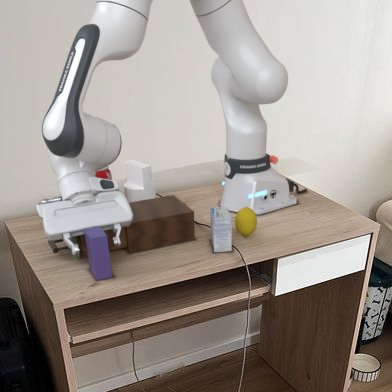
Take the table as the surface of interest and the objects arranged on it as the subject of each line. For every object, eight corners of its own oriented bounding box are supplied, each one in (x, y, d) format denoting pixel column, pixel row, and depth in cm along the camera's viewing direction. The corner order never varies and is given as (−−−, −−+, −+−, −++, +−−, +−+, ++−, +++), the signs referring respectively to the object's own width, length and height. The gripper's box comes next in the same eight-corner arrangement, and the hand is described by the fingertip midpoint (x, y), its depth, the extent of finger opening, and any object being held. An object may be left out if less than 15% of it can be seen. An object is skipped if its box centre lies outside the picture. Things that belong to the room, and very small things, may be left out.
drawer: (57, 263, 127) (52, 240, 123) (46, 243, 136) (42, 221, 133) (140, 246, 133) (138, 224, 130) (125, 229, 143) (123, 207, 139)
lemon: (255, 241, 136) (256, 211, 131) (233, 240, 137) (233, 210, 132) (257, 233, 141) (258, 203, 136) (235, 232, 141) (236, 202, 137)
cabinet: (129, 253, 132) (126, 223, 128) (113, 233, 143) (109, 205, 138) (195, 240, 138) (194, 211, 134) (174, 222, 148) (173, 194, 144)
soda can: (111, 213, 154) (105, 171, 148) (87, 212, 156) (81, 170, 149) (118, 205, 160) (114, 163, 153) (96, 204, 161) (90, 163, 155)
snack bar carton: (104, 266, 127) (99, 225, 121) (112, 277, 122) (107, 235, 116) (89, 269, 125) (83, 228, 120) (96, 280, 121) (90, 238, 115)
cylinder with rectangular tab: (162, 204, 159) (160, 163, 153) (137, 212, 155) (133, 170, 148) (144, 197, 165) (141, 157, 158) (120, 204, 160) (115, 163, 154)
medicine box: (231, 252, 132) (232, 217, 127) (213, 253, 131) (213, 218, 126) (227, 238, 138) (228, 205, 133) (210, 239, 138) (210, 206, 133)
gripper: (33, 194, 117) (51, 253, 115) (124, 179, 124) (141, 235, 122) (34, 207, 123) (50, 263, 121) (120, 193, 130) (137, 246, 128)
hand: (97, 249), depth 122 cm, fingers open, 8 cm apart
